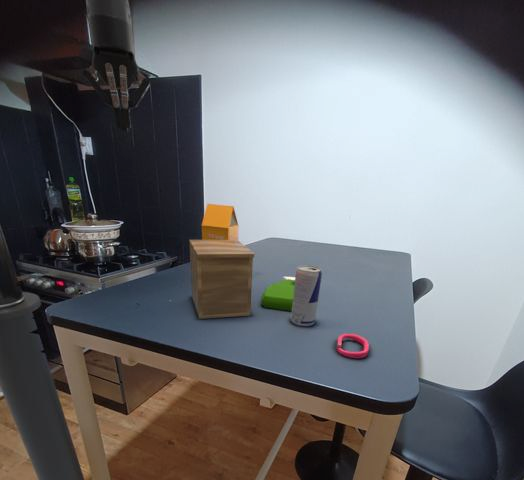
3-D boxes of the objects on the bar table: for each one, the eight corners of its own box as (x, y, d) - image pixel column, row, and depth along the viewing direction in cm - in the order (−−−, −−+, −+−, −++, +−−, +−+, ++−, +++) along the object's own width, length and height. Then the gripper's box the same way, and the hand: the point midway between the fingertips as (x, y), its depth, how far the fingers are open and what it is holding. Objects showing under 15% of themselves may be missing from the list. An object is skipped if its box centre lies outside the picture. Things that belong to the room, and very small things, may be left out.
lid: (254, 257, 65) (254, 253, 65) (197, 258, 62) (197, 253, 61) (237, 243, 78) (237, 239, 77) (189, 243, 74) (189, 239, 74)
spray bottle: (257, 307, 77) (276, 281, 98) (302, 313, 75) (311, 285, 97) (258, 295, 76) (277, 272, 97) (303, 301, 74) (312, 276, 95)
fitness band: (338, 337, 65) (339, 330, 64) (367, 342, 64) (369, 335, 63) (335, 355, 58) (336, 348, 57) (367, 361, 57) (369, 354, 56)
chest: (250, 315, 72) (253, 256, 66) (199, 319, 69) (196, 257, 63) (236, 295, 84) (237, 243, 78) (192, 297, 81) (189, 243, 74)
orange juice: (213, 267, 107) (212, 203, 98) (237, 271, 105) (239, 205, 96) (202, 273, 101) (200, 204, 91) (228, 277, 99) (228, 207, 89)
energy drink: (319, 322, 71) (327, 269, 65) (304, 329, 67) (311, 273, 62) (301, 315, 74) (307, 264, 68) (285, 321, 71) (291, 267, 65)
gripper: (147, 34, 65) (156, 135, 73) (75, 21, 61) (93, 129, 70) (147, 20, 59) (156, 132, 67) (66, 5, 55) (87, 125, 63)
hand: (124, 130), depth 68 cm, fingers closed
